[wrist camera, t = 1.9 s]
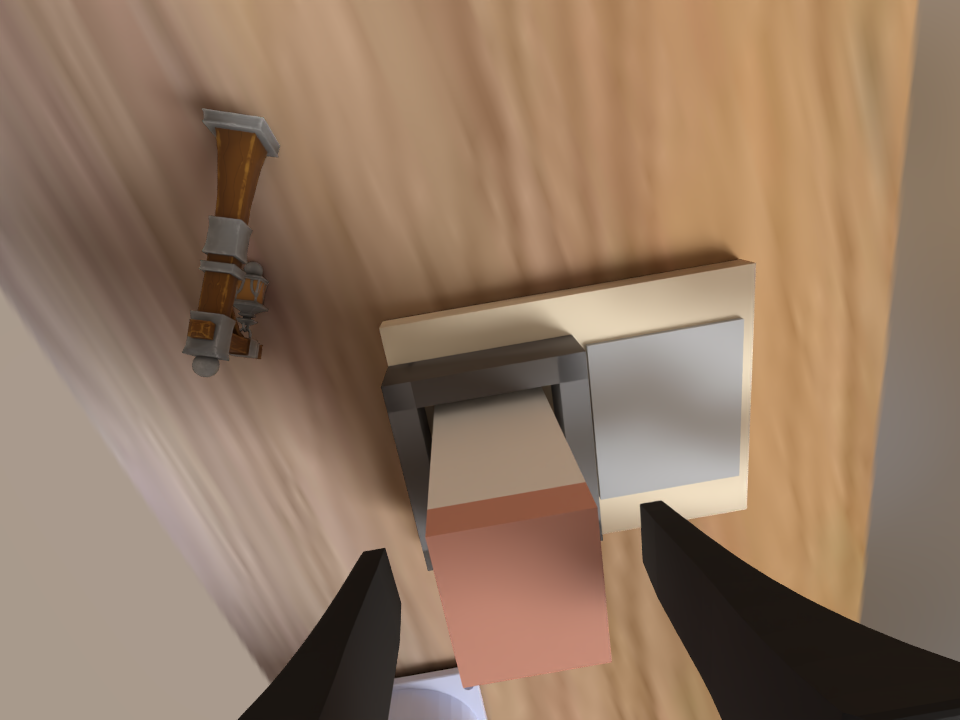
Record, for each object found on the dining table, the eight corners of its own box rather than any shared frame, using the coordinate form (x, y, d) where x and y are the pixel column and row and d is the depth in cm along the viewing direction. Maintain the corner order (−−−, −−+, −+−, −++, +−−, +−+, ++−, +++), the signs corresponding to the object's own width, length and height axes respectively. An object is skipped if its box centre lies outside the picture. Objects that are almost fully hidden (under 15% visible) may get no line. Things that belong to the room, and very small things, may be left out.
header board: (734, 495, 22) (775, 540, 19) (437, 547, 22) (435, 599, 19) (740, 259, 18) (792, 271, 16) (382, 321, 18) (370, 345, 15)
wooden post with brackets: (224, 378, 18) (156, 372, 13) (253, 174, 19) (198, 103, 14) (273, 383, 18) (223, 379, 14) (300, 181, 19) (261, 113, 14)
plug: (551, 485, 20) (611, 662, 13) (458, 501, 20) (462, 688, 13) (537, 377, 18) (597, 507, 11) (435, 395, 18) (425, 537, 11)
